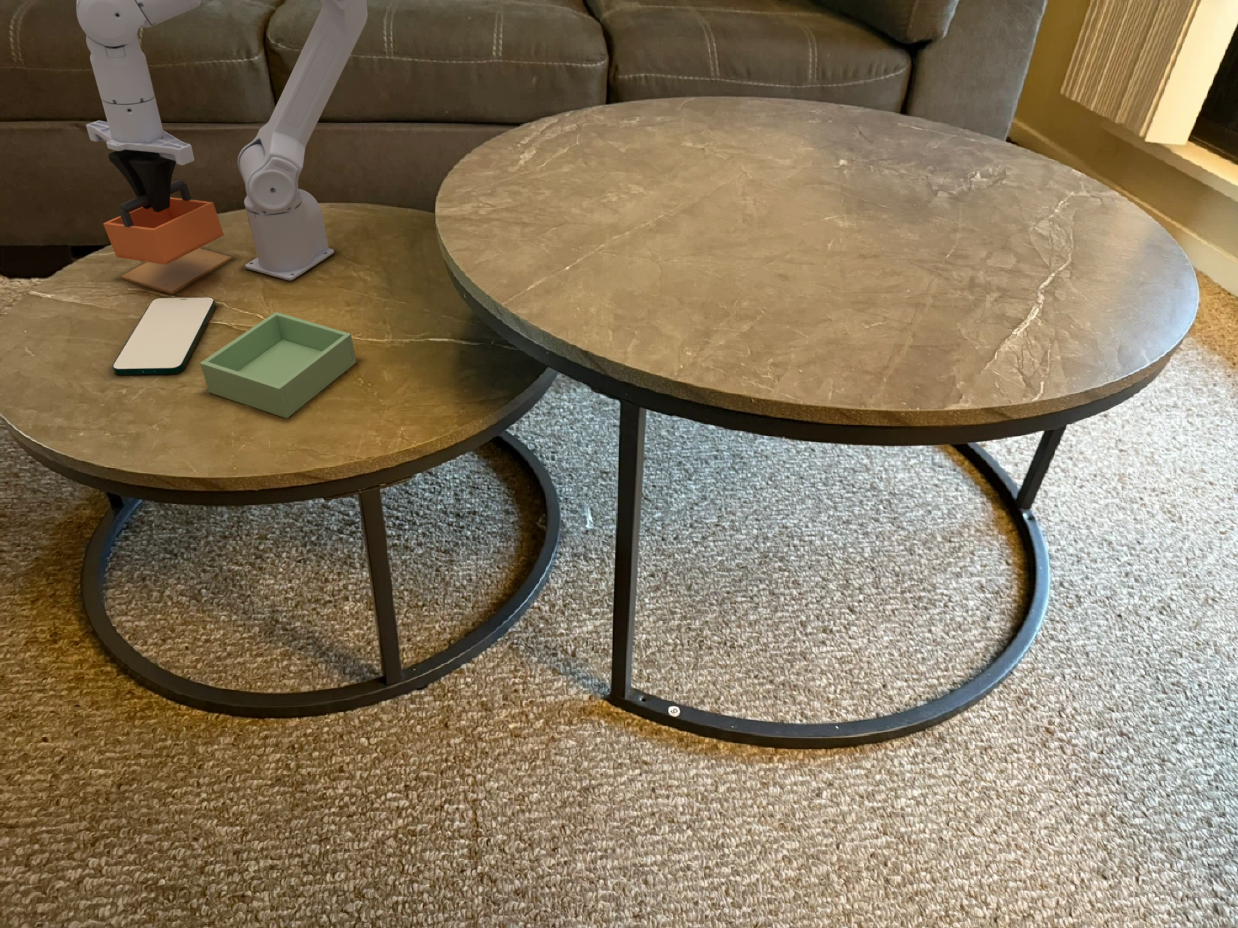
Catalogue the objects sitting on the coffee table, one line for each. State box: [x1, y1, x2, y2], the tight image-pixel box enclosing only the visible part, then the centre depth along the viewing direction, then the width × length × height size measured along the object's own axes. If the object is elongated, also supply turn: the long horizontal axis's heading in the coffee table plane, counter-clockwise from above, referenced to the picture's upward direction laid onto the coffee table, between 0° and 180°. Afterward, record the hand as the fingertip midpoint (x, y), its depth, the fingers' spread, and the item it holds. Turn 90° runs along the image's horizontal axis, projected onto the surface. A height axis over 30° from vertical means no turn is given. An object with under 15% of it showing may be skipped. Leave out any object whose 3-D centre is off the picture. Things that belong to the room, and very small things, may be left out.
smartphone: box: [112, 296, 217, 375], centre depth 111 cm, size 8×1×16 cm
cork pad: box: [120, 247, 233, 295], centre depth 124 cm, size 11×9×1 cm
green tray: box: [199, 311, 357, 419], centre depth 104 cm, size 12×11×4 cm
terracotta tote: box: [102, 178, 225, 265], centre depth 116 cm, size 10×9×7 cm
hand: (156, 207), depth 115 cm, fingers closed on terracotta tote
